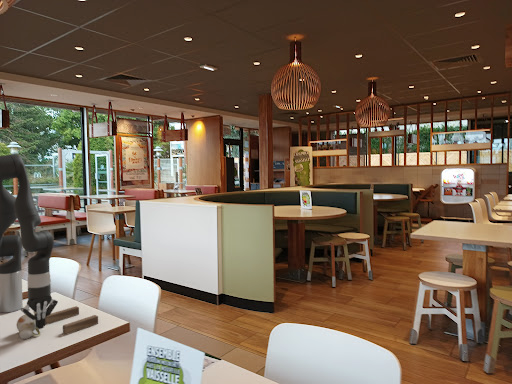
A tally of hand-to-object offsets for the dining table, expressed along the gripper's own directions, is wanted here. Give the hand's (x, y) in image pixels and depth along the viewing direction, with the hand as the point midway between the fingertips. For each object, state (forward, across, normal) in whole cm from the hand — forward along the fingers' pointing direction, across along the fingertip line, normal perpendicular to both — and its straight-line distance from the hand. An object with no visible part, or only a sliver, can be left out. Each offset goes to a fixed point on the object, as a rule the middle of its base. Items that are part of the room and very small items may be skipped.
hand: (40, 328), depth 141 cm
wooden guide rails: (+2, -12, 0) cm, 12 cm away
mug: (+2, +3, -2) cm, 5 cm away
